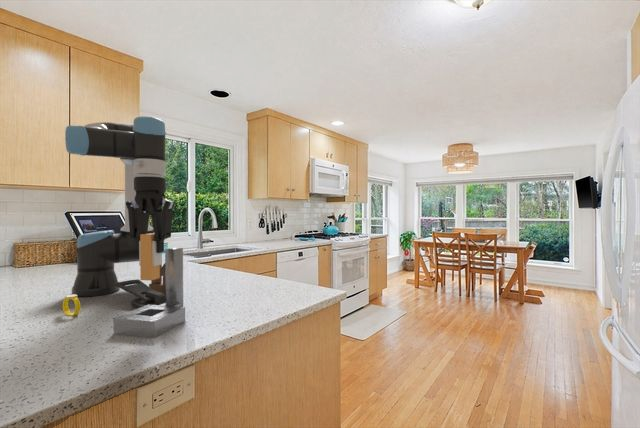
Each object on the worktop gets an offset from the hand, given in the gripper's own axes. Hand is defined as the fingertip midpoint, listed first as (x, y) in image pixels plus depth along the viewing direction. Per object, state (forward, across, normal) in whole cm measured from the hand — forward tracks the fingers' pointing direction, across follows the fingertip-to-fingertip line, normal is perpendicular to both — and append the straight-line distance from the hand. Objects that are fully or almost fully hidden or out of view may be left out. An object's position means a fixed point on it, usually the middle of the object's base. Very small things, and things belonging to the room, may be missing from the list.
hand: (150, 264), depth 85 cm
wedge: (+4, 0, 0) cm, 4 cm away
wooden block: (+17, -21, +31) cm, 41 cm away
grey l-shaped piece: (+17, 0, +3) cm, 17 cm away
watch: (+17, -31, +4) cm, 36 cm away
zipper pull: (+17, -17, +17) cm, 30 cm away
